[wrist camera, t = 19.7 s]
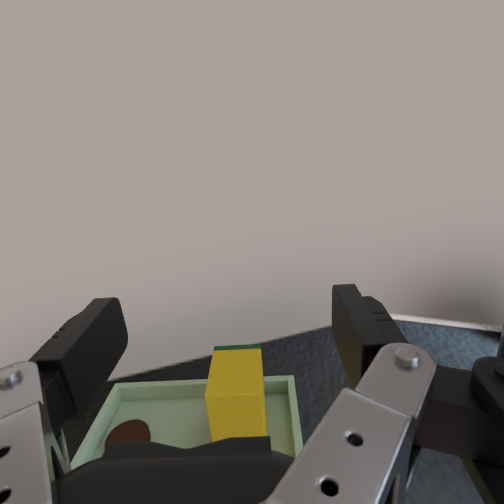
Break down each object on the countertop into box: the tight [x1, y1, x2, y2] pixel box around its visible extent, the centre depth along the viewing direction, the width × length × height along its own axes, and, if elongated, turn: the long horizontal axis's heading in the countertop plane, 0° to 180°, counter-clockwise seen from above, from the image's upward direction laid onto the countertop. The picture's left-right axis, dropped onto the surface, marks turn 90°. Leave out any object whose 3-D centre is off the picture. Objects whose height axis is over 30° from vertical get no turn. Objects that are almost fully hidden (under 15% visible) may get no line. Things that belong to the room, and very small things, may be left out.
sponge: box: [204, 344, 267, 442], centre depth 32 cm, size 5×7×9 cm
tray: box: [70, 375, 303, 470], centre depth 33 cm, size 22×14×3 cm, turn 89°
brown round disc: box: [105, 419, 151, 449], centre depth 34 cm, size 4×4×1 cm
